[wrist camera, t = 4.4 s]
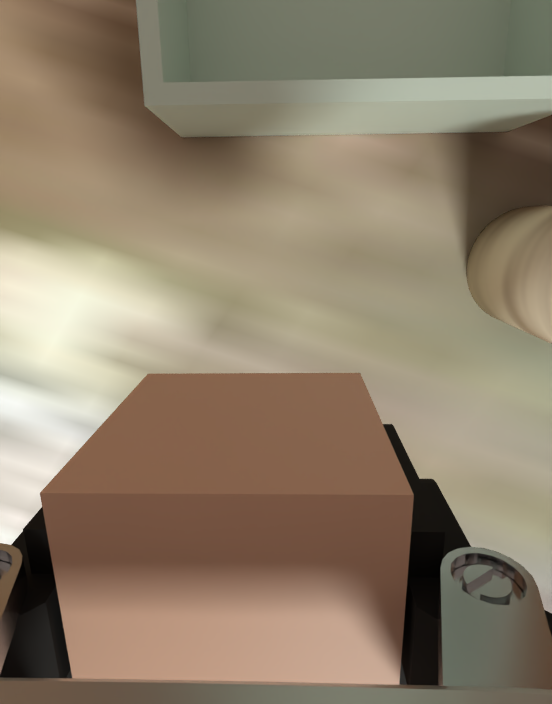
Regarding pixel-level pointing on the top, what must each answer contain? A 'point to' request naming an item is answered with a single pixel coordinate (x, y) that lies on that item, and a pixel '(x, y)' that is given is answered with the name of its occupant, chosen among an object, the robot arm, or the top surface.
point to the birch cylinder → (515, 270)
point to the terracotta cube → (234, 534)
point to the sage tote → (345, 65)
